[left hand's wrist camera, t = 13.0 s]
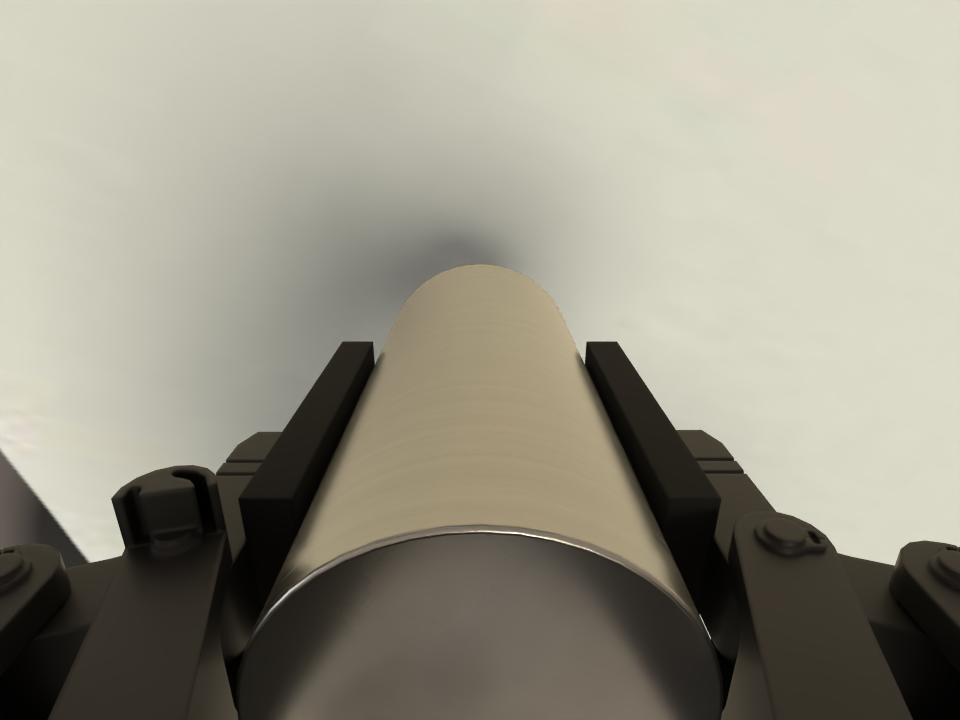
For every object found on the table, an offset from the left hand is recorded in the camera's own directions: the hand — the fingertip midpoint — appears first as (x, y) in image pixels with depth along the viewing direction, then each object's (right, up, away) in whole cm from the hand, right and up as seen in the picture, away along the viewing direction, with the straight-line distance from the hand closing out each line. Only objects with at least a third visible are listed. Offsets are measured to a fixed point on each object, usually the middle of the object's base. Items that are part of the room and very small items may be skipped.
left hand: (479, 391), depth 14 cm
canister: (0, +1, +2) cm, 3 cm away
